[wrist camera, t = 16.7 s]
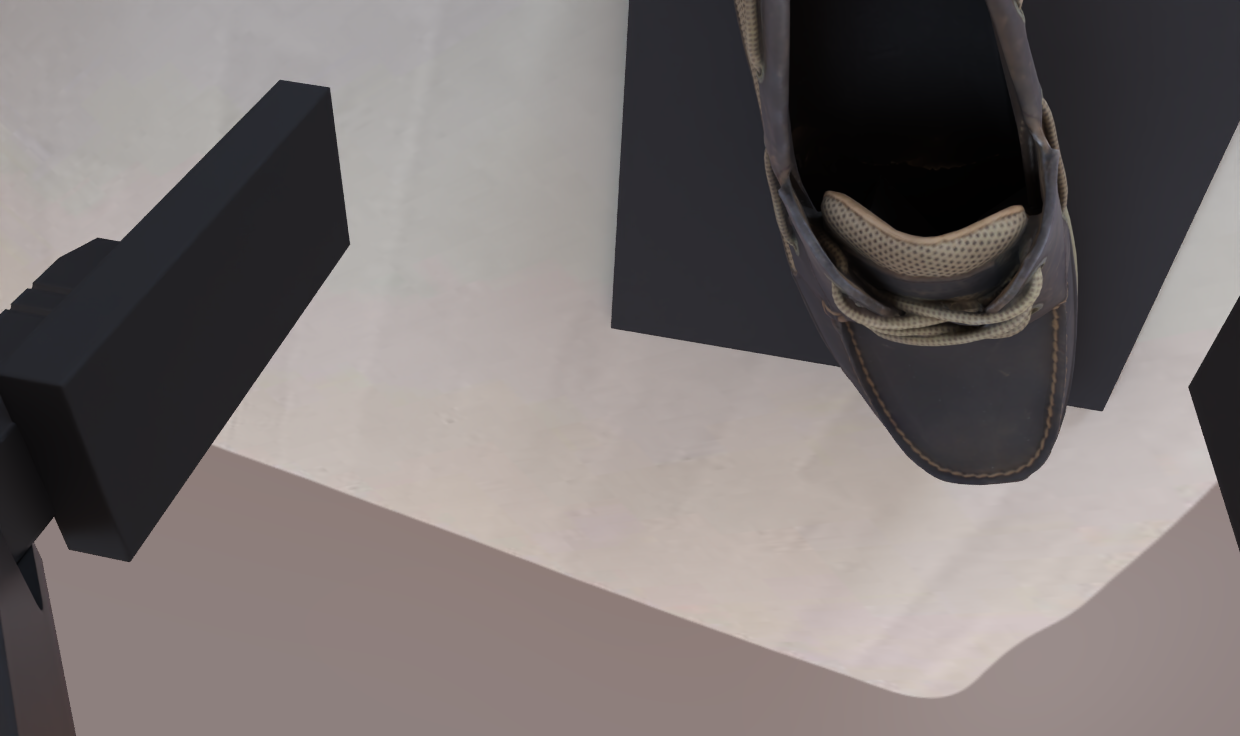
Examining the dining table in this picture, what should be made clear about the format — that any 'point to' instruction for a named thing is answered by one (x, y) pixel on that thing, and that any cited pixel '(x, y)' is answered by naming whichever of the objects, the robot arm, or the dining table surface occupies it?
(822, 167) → the boat shoe
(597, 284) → the dining table surface
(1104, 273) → the boot mat
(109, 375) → the robot arm
